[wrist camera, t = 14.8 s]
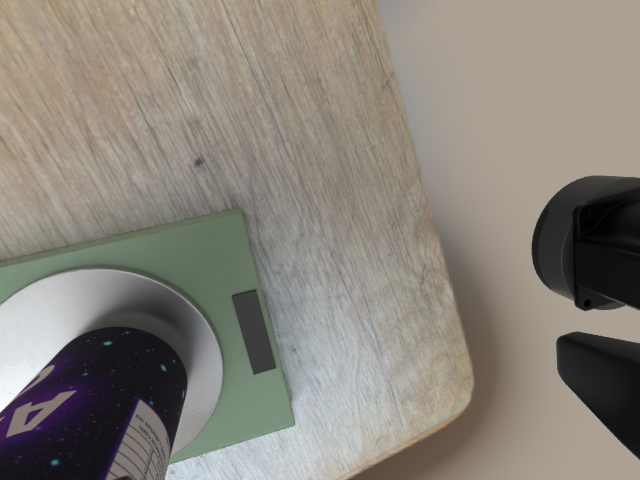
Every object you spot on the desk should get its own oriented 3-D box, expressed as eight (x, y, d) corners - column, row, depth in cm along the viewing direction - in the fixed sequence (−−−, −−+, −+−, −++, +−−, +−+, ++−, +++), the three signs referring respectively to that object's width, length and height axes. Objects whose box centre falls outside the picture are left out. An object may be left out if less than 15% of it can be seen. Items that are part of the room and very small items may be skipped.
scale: (241, 207, 19) (240, 214, 16) (291, 402, 22) (297, 433, 19) (-60, 274, 17) (-112, 294, 15) (41, 478, 20) (12, 523, 18)
